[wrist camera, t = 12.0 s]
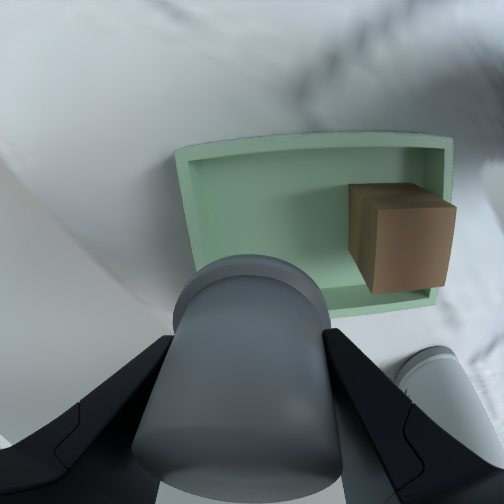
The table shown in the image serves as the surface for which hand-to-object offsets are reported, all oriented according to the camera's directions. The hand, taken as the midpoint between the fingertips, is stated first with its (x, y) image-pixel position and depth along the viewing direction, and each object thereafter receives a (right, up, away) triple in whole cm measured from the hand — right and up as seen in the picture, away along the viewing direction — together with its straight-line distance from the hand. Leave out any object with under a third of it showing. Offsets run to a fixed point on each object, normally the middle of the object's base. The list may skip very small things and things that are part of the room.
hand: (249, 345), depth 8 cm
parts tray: (+4, +5, +9) cm, 11 cm away
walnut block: (+8, +5, +8) cm, 12 cm away
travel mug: (+16, -8, +14) cm, 23 cm away
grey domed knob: (0, 0, +1) cm, 1 cm away
